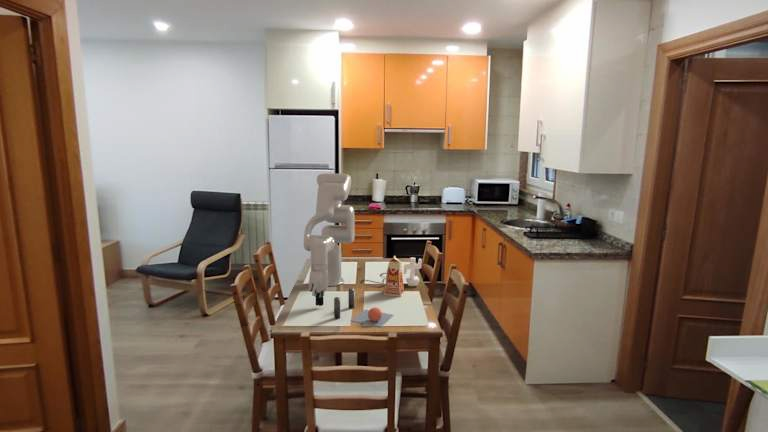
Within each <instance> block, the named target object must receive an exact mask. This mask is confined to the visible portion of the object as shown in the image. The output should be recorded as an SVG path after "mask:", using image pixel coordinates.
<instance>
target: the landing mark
mask: <svg viewBox="0 0 768 432" xmlns="http://www.w3.org/2000/svg"><path fill="white" fill-rule="evenodd" d="M369 310H370V309H364V310H363V311H361V312H360V313H359V314H358V315H356V316H355V317H354V318H352V319H350V322H354V323H357V324H362V325H367V326H373V327H379V328H382V327H383V326H384V325H385V324H386V323H387V322H388V321H389V320H390V319H392V317H393V316H394V314H391V313H386V312H382V317H381V319H380V320H379V321H376V322H373V321H371V320H370V319H369V317H368V312H369Z"/></svg>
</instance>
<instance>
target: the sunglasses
mask: <svg viewBox="0 0 768 432" xmlns="http://www.w3.org/2000/svg"><path fill="white" fill-rule="evenodd" d="M384 274H386V275H387V272H383V273H380V274H379V276H380V277H381V276H382V275H384ZM364 281H367V282H371V283H375V284H380V285H382V286H383V287H385V284H384V283H385V281H386V277H384V278H382V280H381V282H379V281H374V280H370V279H362V280H361V281H360V283H362V282H364Z"/></svg>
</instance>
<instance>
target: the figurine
mask: <svg viewBox="0 0 768 432" xmlns="http://www.w3.org/2000/svg"><path fill="white" fill-rule="evenodd" d="M409 261H410V262H409V263H404V265H403V274H404V275H407V274H408V270H409V275H407V276H404V278H405V281H406V283H407V285H408V287H417V286H418V285H419V284H420V282H421V280H420V278H419V276H418V275H416V271H415V270H420V269H422V264H423V263H422V258H418V262H417V263H416V257H410V258H409Z"/></svg>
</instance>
